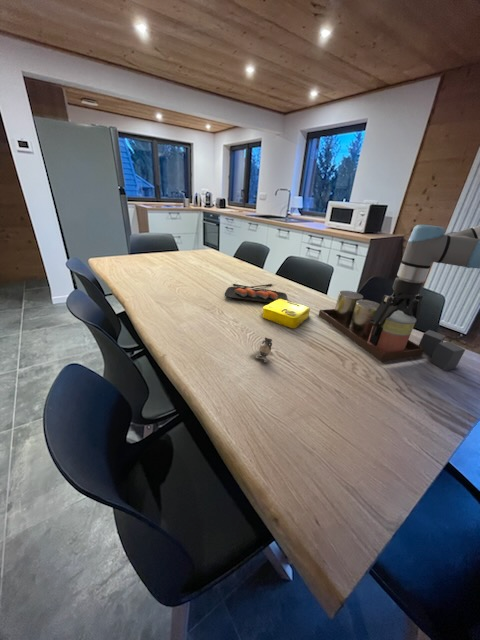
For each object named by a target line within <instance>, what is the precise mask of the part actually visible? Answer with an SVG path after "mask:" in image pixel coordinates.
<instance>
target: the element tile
mask: <svg viewBox="0 0 480 640" xmlns="http://www.w3.org/2000/svg"><path fill="white" fill-rule="evenodd" d="M310 311H311V308H310V307H309V306H305V305H302V304H300V303H296V302H293V301H289V300H287V301H286V300H283V299H278V300H276V301H274V302H272V303H267V304H266V305H264V306H263V308H262V315H261V316H262V318H263V319H265V320H267V321H270V322H273V323H276V324H278V325H281V326H284V327H286V328H290V329H296V328H297V327H300V325H302V323H303V322H304V321H305V320H307V319H308V318H309V316H310Z"/></svg>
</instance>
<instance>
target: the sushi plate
mask: <svg viewBox="0 0 480 640" xmlns="http://www.w3.org/2000/svg"><path fill="white" fill-rule="evenodd" d="M232 285H233V286H229V287H227V288H226V289H225V292H224V297H226V298H230V299H235V300H240V301H248V302H255V303H256V302H257V303H263V304H264V303H266V304H270V303H272V302H274V301H276V300H278V299H283V300H286V301H288V295H287V294H286V293H285V292H281V291H277V290H271V289H266V288H260V287H268V286H270V287H271V286H272V285H273V284H272V283H269V284H260V285H252V286H248V285H243V284H238V283H237V284H236V283H233V284H232Z"/></svg>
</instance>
